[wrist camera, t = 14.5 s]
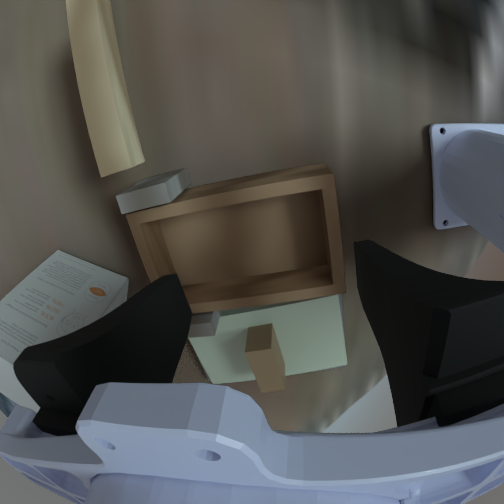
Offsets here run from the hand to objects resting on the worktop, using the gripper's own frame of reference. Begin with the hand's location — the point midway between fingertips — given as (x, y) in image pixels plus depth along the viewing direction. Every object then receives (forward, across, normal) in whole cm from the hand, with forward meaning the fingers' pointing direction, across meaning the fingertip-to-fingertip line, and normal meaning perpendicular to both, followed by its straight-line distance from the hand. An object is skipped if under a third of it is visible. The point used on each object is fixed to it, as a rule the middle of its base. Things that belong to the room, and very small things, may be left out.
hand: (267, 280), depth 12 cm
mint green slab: (+10, +3, +12) cm, 16 cm away
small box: (+10, +18, +4) cm, 21 cm away
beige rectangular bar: (+5, +7, -11) cm, 14 cm away
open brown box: (+10, +3, +2) cm, 11 cm away
